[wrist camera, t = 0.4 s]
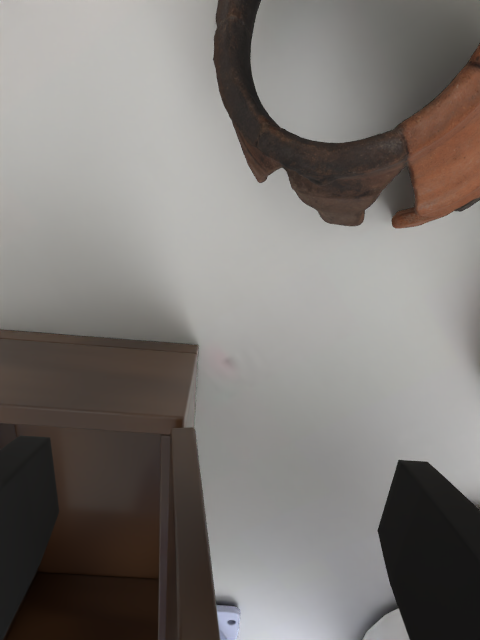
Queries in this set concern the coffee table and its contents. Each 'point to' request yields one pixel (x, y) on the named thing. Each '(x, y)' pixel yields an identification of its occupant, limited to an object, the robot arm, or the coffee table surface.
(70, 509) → the brown wooden box
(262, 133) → the brown knobbed ring
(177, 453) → the brown rectangular panel
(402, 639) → the can
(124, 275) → the coffee table surface
